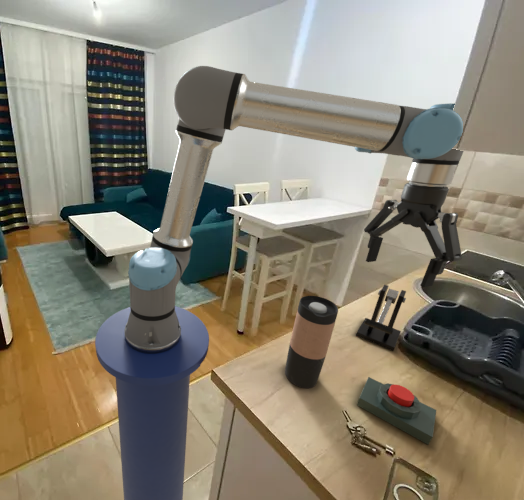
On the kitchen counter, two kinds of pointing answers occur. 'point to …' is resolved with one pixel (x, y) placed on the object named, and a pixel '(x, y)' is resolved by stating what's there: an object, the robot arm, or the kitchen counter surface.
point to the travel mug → (310, 340)
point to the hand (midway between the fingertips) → (396, 272)
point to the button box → (398, 411)
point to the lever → (384, 313)
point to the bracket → (381, 336)
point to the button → (401, 395)
